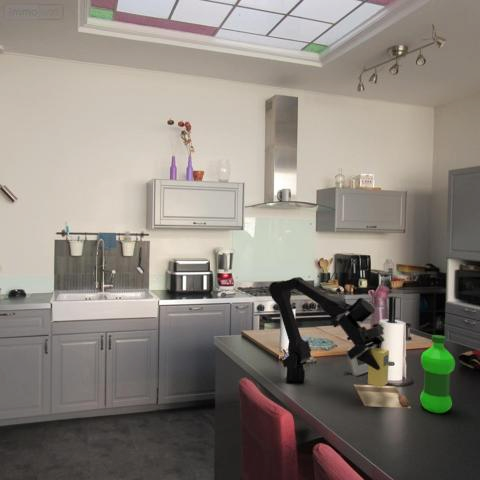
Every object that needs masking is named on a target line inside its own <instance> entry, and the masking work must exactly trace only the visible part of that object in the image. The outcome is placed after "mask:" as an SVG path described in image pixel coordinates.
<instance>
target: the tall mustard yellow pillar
mask: <svg viewBox="0 0 480 480" xmlns="http://www.w3.org/2000/svg"><path fill="white" fill-rule="evenodd" d="M372 355H373V357H374V359H375V360H376V362H377V363H378V365H379V367H380V369H379V370H376V369H375V368H373V367H371V366H369V365H368V373H367V385H375V386H379V387H383V386H387V384H388V380H389V363H390V361H389V359H390V357H389V356H390V350H389V349H385V348H381V349H380V348H373V349H372Z"/></svg>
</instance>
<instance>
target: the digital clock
mask: <svg viewBox="0 0 480 480" xmlns="http://www.w3.org/2000/svg"><path fill="white" fill-rule="evenodd" d="M353 347H354V346H352V347H351V348H353ZM351 348H348V349H346V357H347V361H346V372H347V373H349V374H351V375H352V376H353V377H359V376H362V375H364V374H368V365H367V364H366V363H364V362H362V361H360V360H357V359H356V358H357V357H359V356H358V355H357V356H355V358H354V359H352V360H351V359H350V358H349V357H348V351H349V350H350V349H351Z"/></svg>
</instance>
